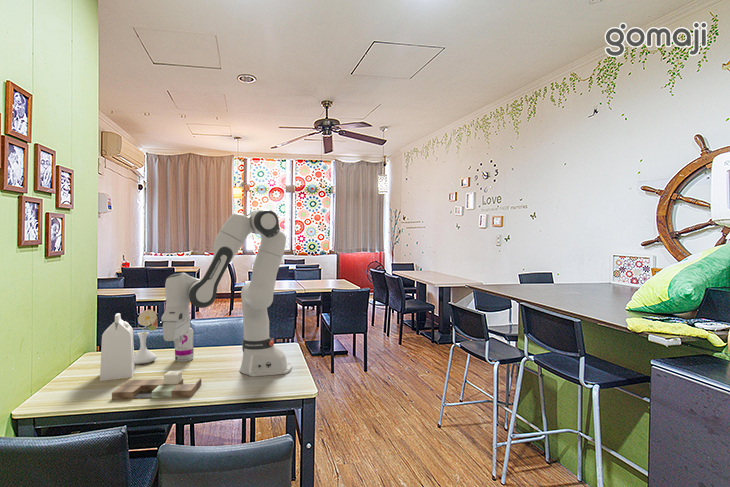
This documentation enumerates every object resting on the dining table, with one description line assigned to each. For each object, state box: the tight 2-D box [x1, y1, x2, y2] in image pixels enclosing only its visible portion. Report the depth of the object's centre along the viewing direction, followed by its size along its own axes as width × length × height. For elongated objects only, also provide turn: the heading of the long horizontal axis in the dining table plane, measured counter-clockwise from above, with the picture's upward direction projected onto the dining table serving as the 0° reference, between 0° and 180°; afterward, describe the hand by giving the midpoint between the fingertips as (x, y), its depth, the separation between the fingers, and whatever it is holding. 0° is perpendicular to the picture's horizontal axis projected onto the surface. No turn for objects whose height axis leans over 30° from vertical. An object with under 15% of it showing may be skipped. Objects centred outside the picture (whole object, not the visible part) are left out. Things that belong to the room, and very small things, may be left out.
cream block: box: [163, 370, 183, 384], centre depth 164 cm, size 5×5×4 cm
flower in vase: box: [134, 309, 158, 365], centre depth 197 cm, size 13×11×25 cm
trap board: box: [111, 377, 202, 400], centre depth 161 cm, size 28×13×3 cm, turn 95°
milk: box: [99, 312, 136, 382], centre depth 180 cm, size 12×12×26 cm
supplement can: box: [174, 326, 194, 363], centre depth 202 cm, size 8×8×15 cm
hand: (178, 346), depth 172 cm, fingers closed
